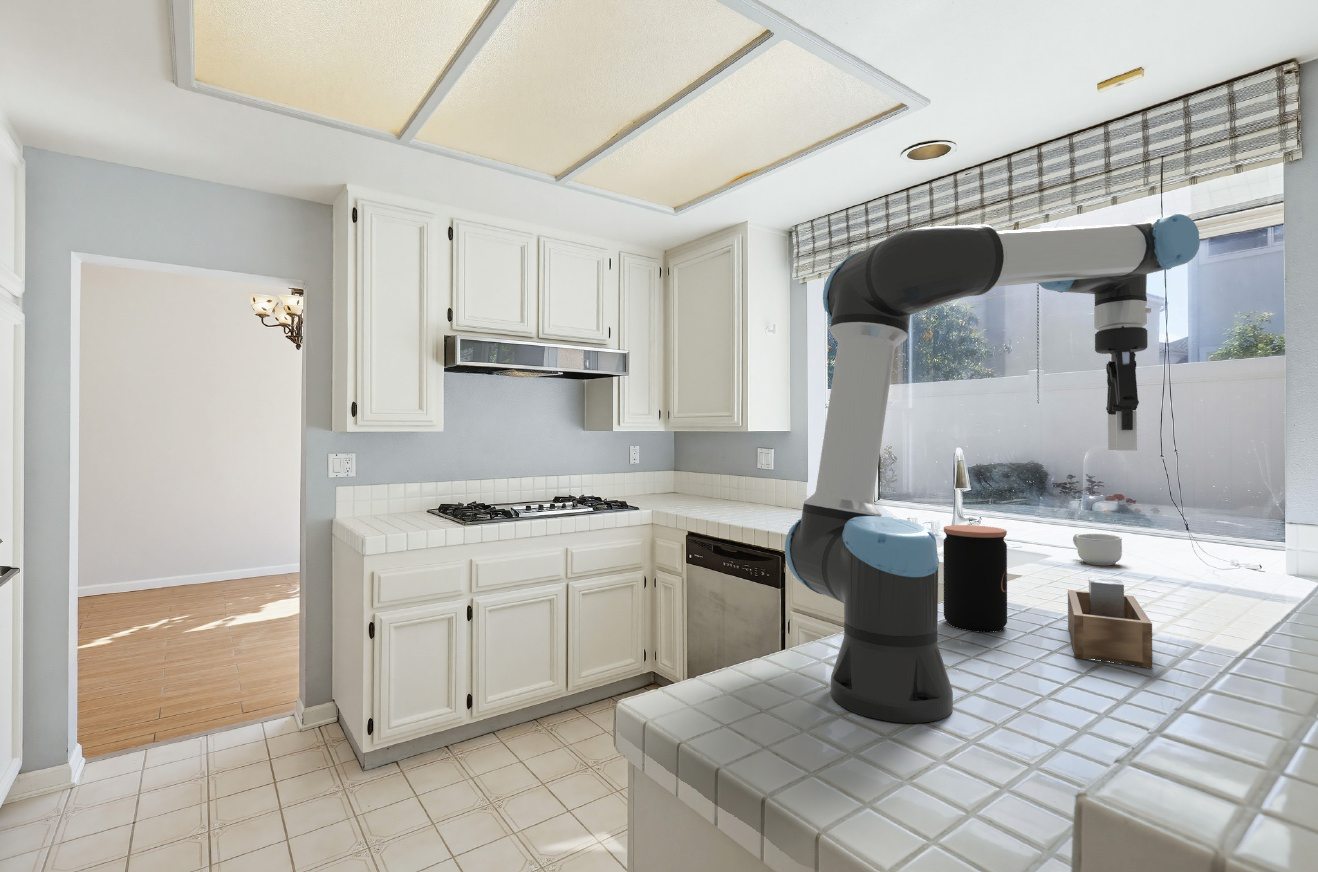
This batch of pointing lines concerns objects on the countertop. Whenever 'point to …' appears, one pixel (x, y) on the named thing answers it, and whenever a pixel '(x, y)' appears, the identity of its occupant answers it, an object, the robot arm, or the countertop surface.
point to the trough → (1110, 632)
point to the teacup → (1098, 548)
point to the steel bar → (1106, 597)
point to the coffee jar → (975, 577)
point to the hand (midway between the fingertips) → (1121, 450)
